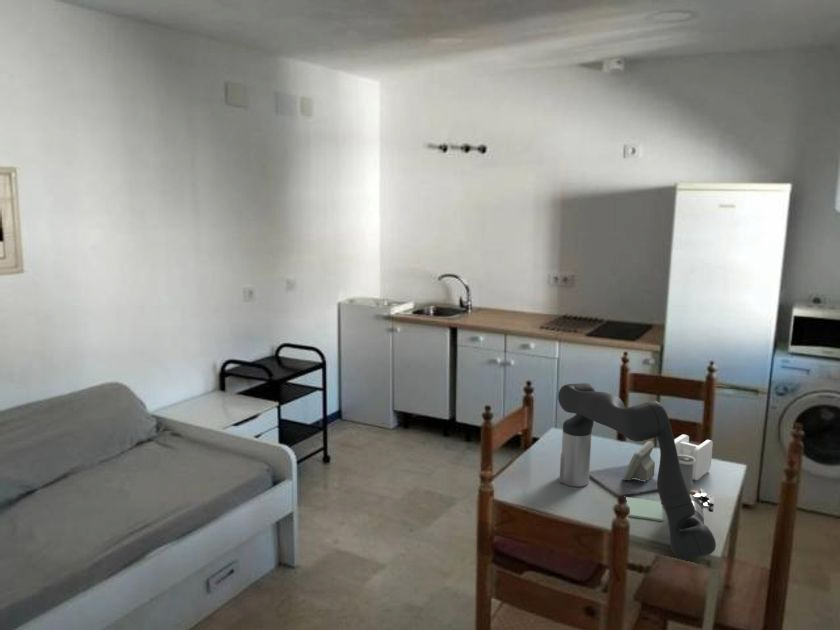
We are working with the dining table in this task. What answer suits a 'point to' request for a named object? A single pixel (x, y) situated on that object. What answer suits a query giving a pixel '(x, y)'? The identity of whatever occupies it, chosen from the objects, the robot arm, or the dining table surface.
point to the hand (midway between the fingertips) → (685, 489)
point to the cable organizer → (696, 454)
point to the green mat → (645, 509)
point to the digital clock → (641, 464)
